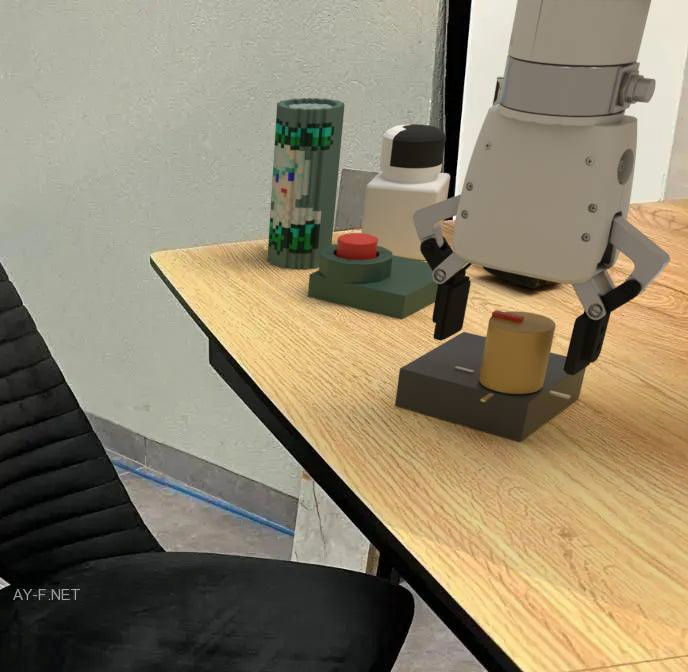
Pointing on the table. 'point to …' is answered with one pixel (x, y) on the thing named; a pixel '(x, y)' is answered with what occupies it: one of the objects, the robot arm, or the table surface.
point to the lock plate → (482, 390)
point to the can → (304, 181)
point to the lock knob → (516, 352)
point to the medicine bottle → (405, 187)
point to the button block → (374, 283)
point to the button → (357, 246)
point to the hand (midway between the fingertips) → (510, 351)
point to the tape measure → (519, 278)
